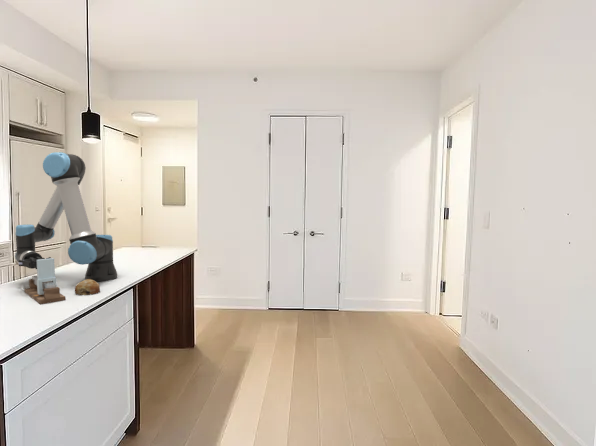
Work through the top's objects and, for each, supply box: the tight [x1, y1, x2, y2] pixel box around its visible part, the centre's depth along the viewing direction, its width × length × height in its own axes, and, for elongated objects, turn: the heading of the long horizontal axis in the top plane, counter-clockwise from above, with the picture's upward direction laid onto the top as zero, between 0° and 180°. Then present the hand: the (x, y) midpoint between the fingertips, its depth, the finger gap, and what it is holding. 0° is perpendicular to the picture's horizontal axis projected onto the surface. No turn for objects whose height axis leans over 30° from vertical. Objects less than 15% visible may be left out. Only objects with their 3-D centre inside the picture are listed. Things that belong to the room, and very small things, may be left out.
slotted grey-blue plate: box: [36, 257, 58, 295], centre depth 167 cm, size 3×6×14 cm, turn 136°
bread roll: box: [74, 279, 101, 296], centre depth 177 cm, size 10×10×8 cm
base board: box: [23, 278, 66, 305], centre depth 172 cm, size 28×9×6 cm, turn 46°
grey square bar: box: [31, 275, 57, 290], centre depth 171 cm, size 25×3×3 cm, turn 46°
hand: (44, 266), depth 168 cm, fingers closed
